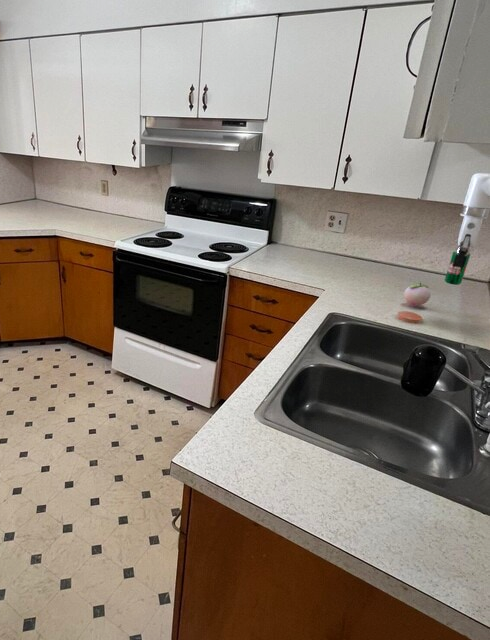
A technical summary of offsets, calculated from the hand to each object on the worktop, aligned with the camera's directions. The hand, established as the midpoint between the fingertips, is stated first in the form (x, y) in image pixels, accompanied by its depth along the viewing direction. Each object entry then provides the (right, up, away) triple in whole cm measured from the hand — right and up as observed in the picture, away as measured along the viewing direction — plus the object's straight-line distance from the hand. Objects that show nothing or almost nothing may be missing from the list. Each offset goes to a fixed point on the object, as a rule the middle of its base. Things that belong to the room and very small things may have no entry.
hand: (458, 264), depth 147 cm
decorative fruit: (-2, -15, +22) cm, 27 cm away
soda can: (0, -7, +3) cm, 7 cm away
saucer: (-11, -19, +10) cm, 25 cm away
